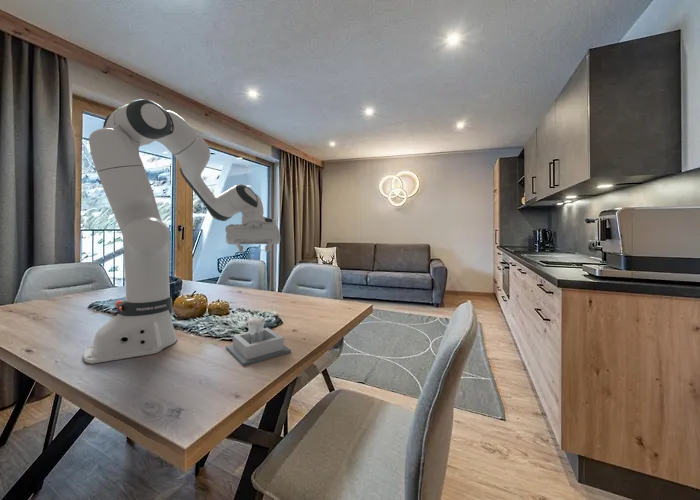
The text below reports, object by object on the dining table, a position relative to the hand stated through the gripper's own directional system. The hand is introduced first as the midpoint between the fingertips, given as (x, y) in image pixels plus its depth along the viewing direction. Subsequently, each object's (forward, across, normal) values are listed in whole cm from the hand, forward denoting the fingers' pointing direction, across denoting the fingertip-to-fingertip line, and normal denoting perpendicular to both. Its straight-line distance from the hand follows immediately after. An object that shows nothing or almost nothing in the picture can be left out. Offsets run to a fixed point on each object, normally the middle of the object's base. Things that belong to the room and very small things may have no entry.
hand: (254, 250), depth 112 cm
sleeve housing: (+39, 0, -1) cm, 39 cm away
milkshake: (+39, 0, -1) cm, 39 cm away
